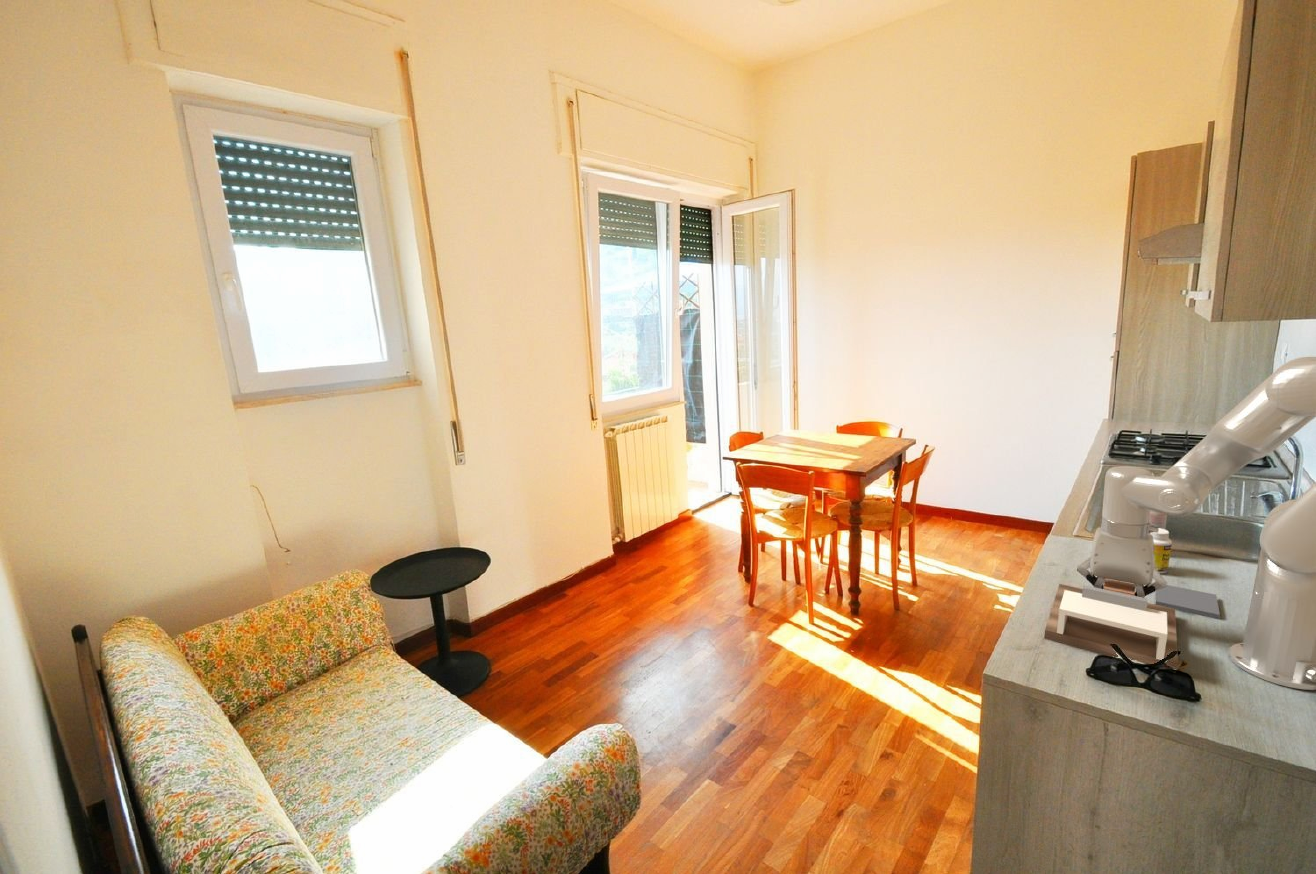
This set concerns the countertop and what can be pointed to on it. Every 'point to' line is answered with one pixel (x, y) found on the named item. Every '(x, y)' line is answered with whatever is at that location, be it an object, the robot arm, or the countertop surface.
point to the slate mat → (1188, 601)
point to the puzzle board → (1110, 634)
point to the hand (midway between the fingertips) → (1117, 607)
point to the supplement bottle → (1161, 550)
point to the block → (1119, 587)
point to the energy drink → (1158, 519)
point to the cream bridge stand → (1115, 613)
